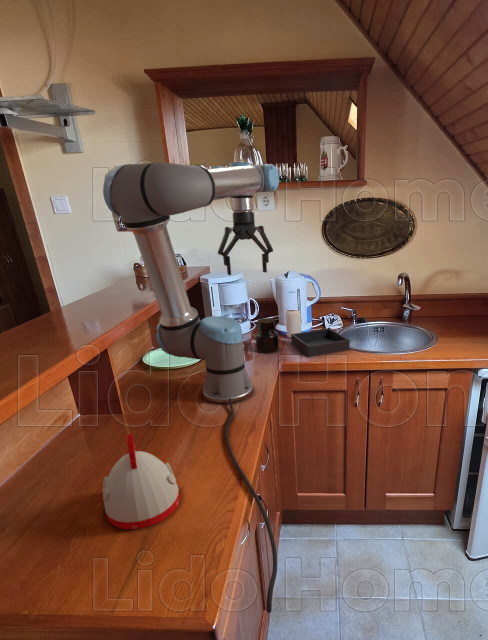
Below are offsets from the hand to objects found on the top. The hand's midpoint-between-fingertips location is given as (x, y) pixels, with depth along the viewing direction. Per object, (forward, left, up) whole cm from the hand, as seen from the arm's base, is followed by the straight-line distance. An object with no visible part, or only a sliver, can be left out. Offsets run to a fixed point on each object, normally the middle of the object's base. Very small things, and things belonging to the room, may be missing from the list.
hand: (247, 273), depth 156 cm
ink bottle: (-3, -5, -30) cm, 31 cm away
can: (+9, -21, -30) cm, 38 cm away
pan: (-9, -25, -30) cm, 40 cm away
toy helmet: (-80, +47, -30) cm, 98 cm away
